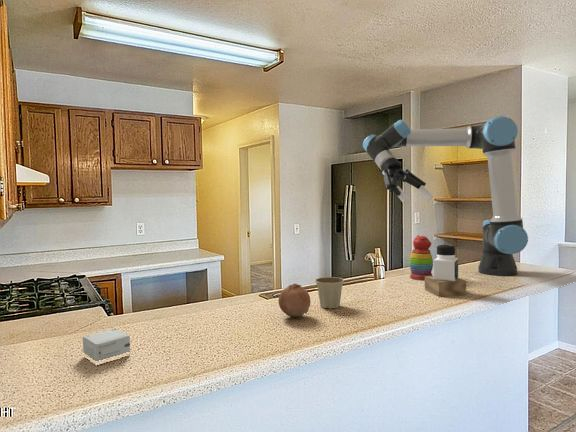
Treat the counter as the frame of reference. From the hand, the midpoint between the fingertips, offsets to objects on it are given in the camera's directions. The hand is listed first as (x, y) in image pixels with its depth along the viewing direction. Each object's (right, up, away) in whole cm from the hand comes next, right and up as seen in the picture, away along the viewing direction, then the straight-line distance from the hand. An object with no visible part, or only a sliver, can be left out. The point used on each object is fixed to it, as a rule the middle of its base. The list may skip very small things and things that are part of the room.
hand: (418, 199), depth 155 cm
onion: (-48, -36, -35) cm, 69 cm away
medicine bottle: (+6, -29, -11) cm, 31 cm away
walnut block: (+6, -33, -10) cm, 35 cm away
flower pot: (-36, -35, -24) cm, 56 cm away
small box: (-91, -39, -61) cm, 117 cm away
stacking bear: (+6, -32, +15) cm, 36 cm away
